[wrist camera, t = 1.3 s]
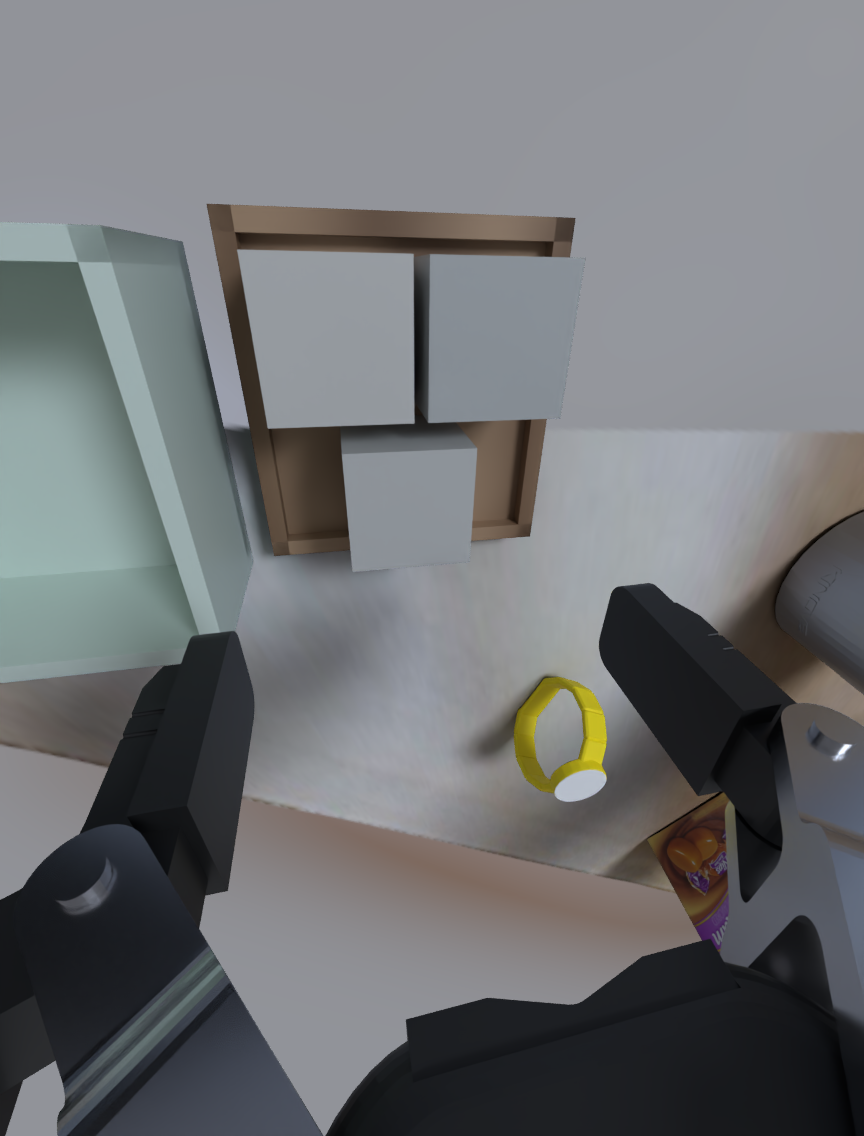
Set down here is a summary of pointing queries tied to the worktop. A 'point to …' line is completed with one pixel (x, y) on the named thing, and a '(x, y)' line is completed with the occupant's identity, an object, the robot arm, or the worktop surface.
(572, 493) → the worktop surface
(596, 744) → the watch
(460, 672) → the worktop surface
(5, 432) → the green bin
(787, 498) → the worktop surface
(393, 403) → the light grey cube
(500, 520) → the walnut tray
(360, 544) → the grey cube
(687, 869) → the candy box
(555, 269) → the grey stone
